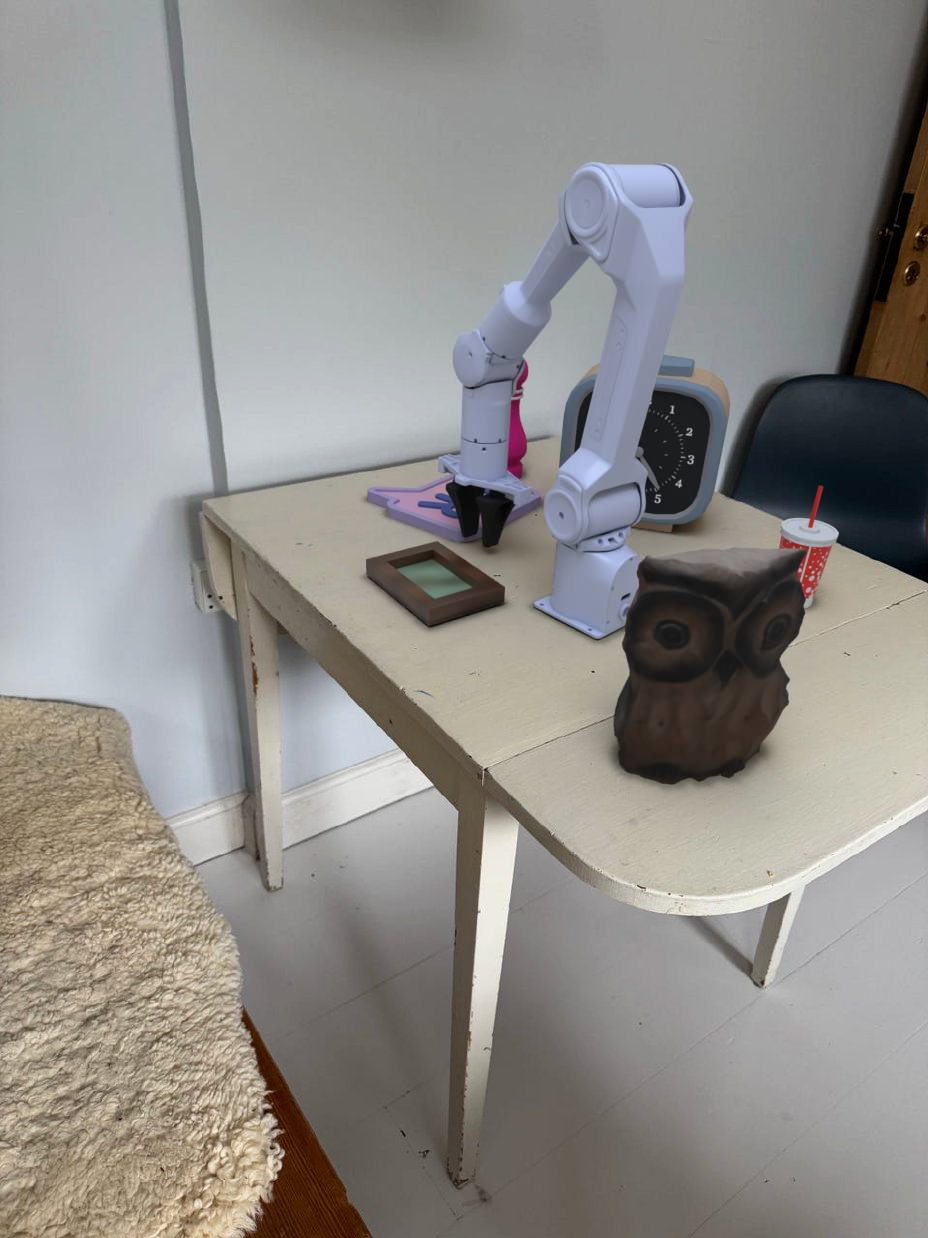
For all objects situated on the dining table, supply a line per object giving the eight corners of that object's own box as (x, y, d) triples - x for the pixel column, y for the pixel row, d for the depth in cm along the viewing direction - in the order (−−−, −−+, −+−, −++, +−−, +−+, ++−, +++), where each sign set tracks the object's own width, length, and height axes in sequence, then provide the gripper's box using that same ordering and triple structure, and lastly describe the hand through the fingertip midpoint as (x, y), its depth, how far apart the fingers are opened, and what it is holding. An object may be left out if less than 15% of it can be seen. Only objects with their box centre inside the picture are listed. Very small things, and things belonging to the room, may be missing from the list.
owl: (779, 750, 74) (837, 543, 64) (715, 827, 65) (771, 603, 55) (651, 693, 81) (686, 498, 70) (578, 756, 72) (606, 545, 62)
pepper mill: (503, 462, 135) (511, 334, 125) (534, 476, 130) (545, 343, 120) (469, 471, 131) (474, 339, 121) (500, 485, 126) (507, 349, 116)
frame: (504, 602, 94) (505, 586, 93) (429, 626, 89) (429, 609, 88) (437, 555, 104) (437, 540, 103) (366, 574, 99) (365, 558, 98)
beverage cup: (816, 591, 100) (847, 480, 93) (821, 616, 95) (854, 500, 88) (763, 583, 101) (789, 473, 94) (764, 607, 96) (793, 492, 89)
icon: (439, 460, 131) (547, 493, 120) (439, 468, 131) (546, 502, 121) (353, 494, 118) (465, 534, 107) (353, 504, 118) (465, 544, 108)
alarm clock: (553, 517, 117) (567, 358, 106) (567, 493, 124) (582, 343, 113) (704, 541, 111) (736, 376, 100) (709, 514, 119) (740, 359, 108)
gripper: (419, 427, 102) (419, 529, 109) (504, 459, 93) (497, 569, 100) (462, 416, 106) (459, 516, 113) (547, 447, 97) (538, 553, 104)
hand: (480, 540), depth 107 cm, fingers open, 3 cm apart
